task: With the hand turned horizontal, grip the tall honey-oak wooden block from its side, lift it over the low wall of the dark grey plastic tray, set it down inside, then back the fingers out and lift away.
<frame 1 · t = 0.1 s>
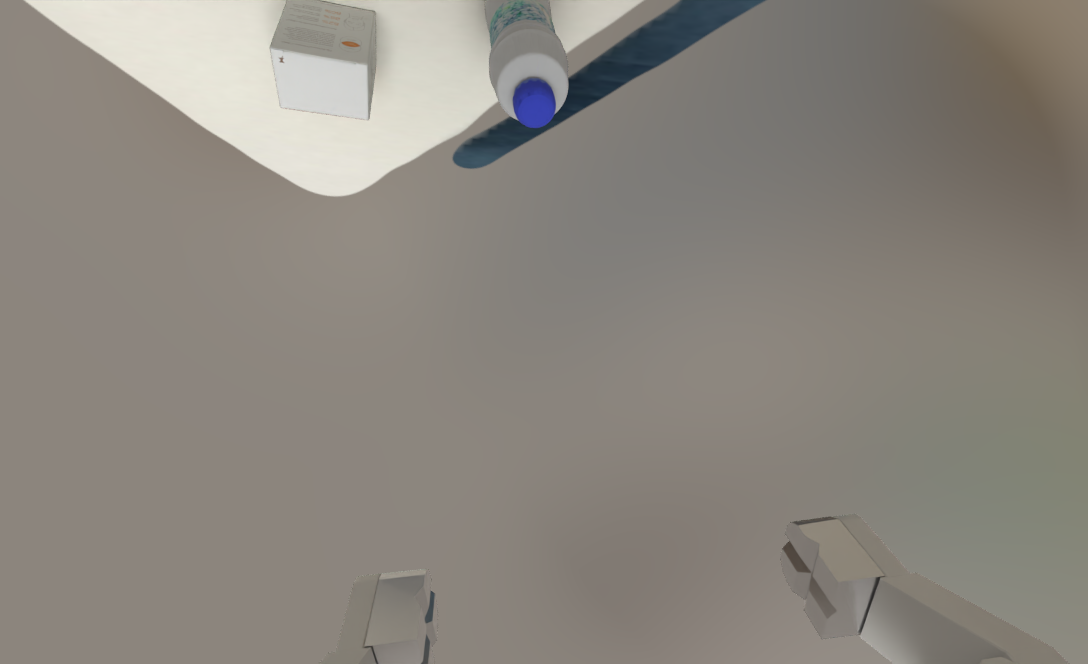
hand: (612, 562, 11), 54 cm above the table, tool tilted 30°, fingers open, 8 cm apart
small box: (335, 30, 52), on the table
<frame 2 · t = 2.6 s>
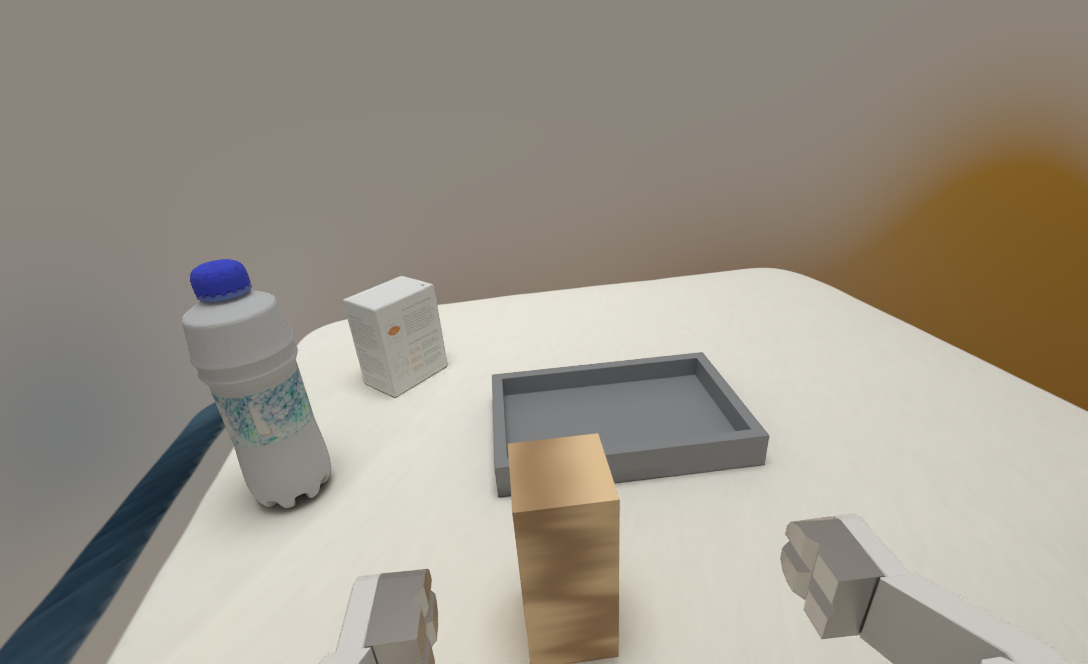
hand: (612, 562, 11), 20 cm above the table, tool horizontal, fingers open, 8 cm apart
oak block: (568, 621, 31), on the table
bottle: (296, 489, 43), on the table
small box: (407, 376, 59), on the table
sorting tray: (614, 428, 48), on the table
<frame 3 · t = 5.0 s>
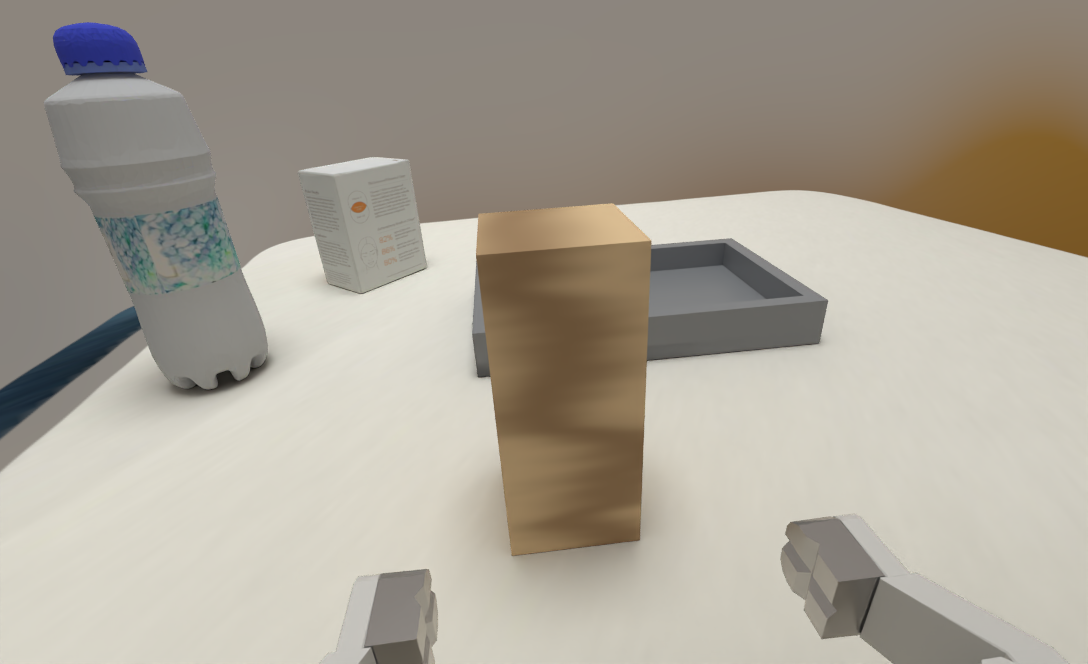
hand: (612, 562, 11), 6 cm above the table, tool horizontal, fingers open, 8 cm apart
oak block: (567, 500, 22), on the table
bottle: (224, 374, 34), on the table
small box: (378, 278, 50), on the table
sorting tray: (625, 314, 39), on the table
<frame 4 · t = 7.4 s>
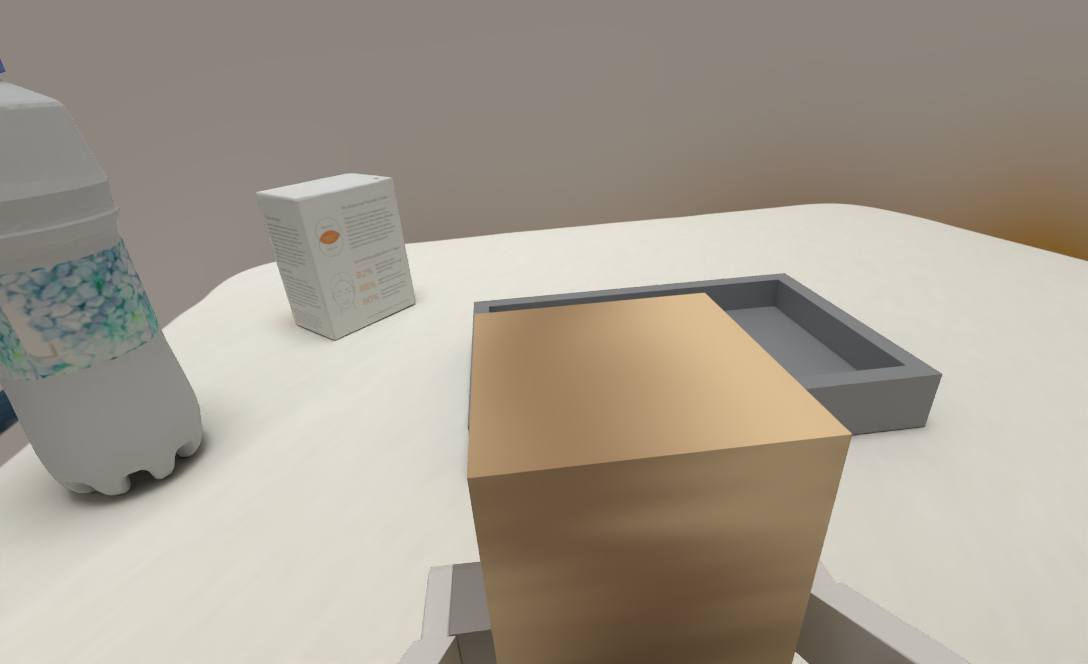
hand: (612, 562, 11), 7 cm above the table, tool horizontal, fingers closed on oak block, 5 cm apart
bottle: (145, 465, 26), on the table
small box: (358, 317, 42), on the table
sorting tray: (661, 376, 31), on the table
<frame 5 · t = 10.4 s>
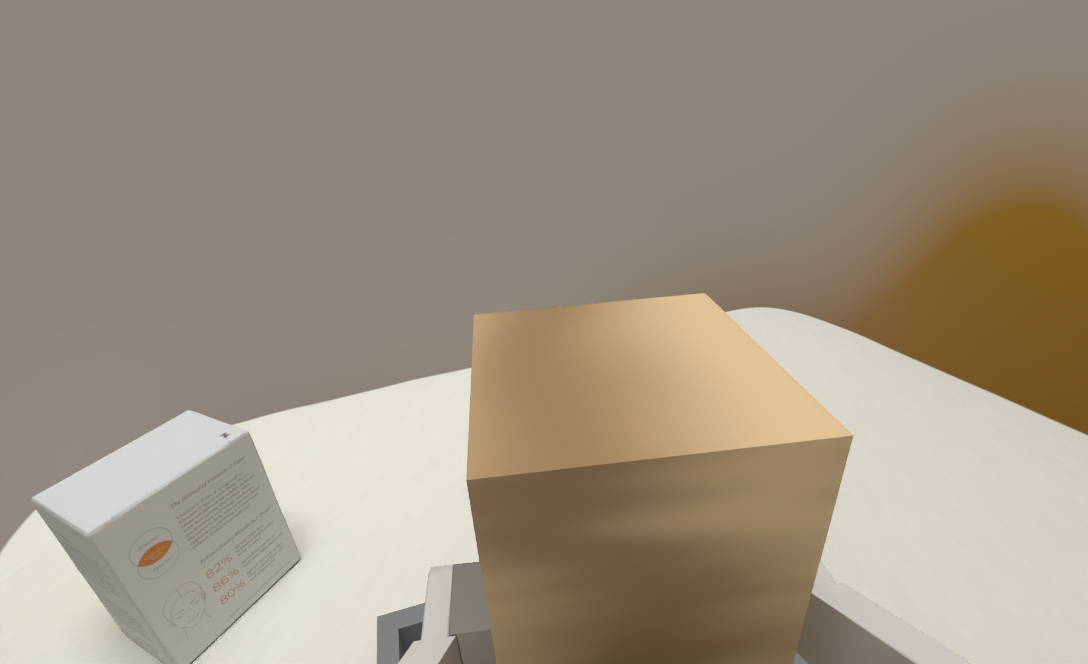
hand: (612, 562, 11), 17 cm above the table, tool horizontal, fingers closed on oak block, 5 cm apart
small box: (219, 597, 31), on the table
when the fingers open (9 cm above the table, at t = 13.3 s): oak block drops 1 cm, resting on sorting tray.
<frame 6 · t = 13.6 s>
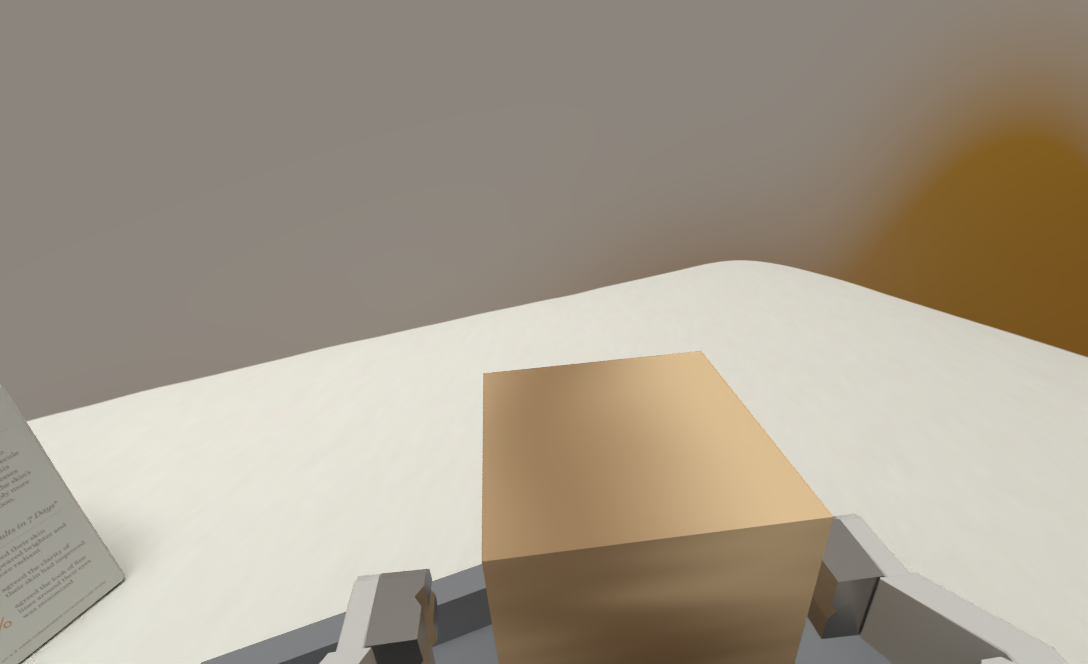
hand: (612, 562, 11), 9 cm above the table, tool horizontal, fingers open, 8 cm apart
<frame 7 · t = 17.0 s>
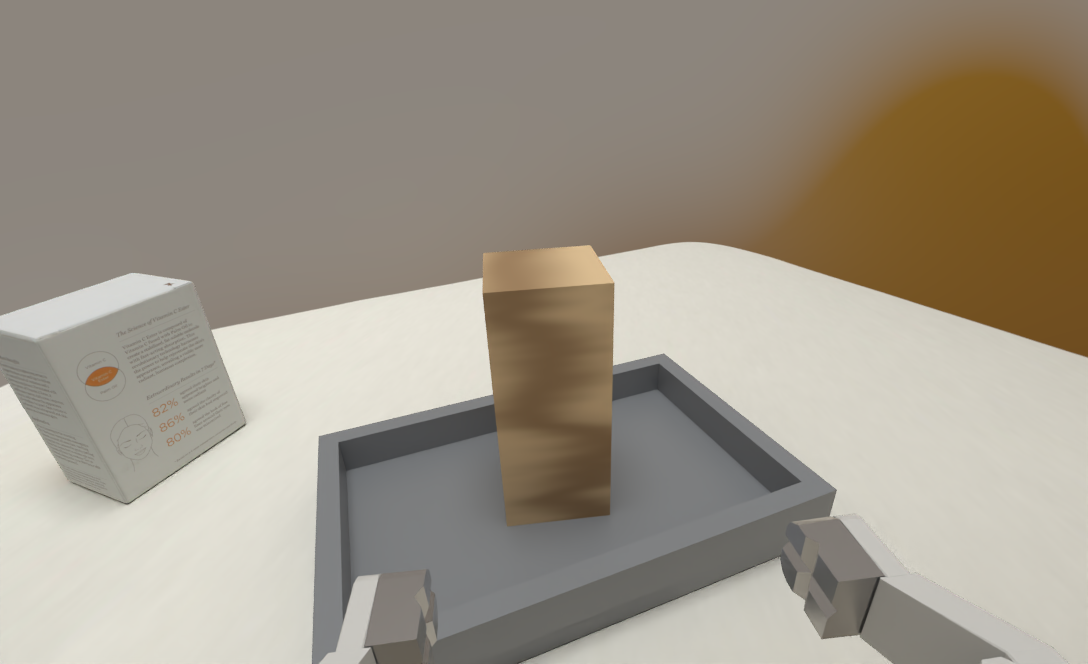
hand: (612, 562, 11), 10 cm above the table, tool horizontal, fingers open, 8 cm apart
oak block: (552, 484, 27), point 1 cm above the table, touching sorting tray
small box: (165, 454, 32), on the table
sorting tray: (553, 505, 27), on the table
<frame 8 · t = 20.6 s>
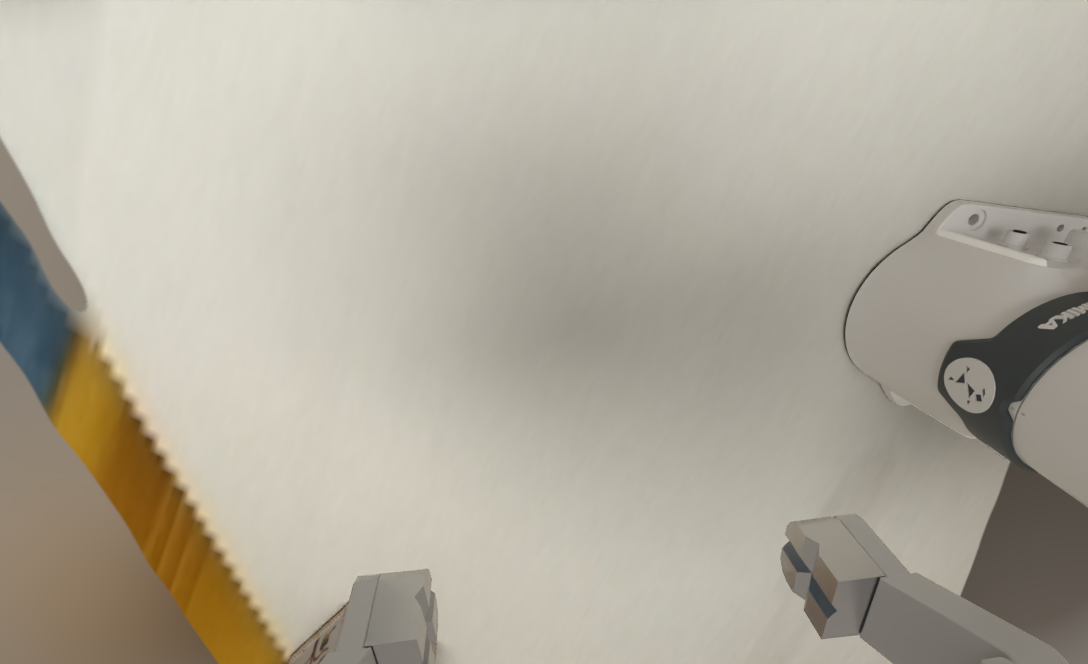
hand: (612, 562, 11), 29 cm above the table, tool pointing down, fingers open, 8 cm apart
decorative jar: (365, 645, 56), on the table
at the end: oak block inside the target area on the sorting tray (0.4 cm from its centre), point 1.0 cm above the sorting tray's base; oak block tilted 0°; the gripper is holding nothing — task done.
